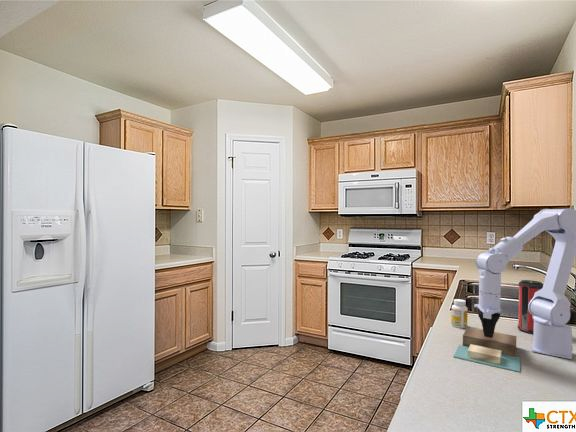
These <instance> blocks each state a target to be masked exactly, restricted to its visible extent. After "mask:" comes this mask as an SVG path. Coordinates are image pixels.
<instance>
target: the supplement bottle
mask: <svg viewBox="0 0 576 432" xmlns="http://www.w3.org/2000/svg"><path fill="white" fill-rule="evenodd" d="M466 302H467V301H466V300H464V299H460V298H455V299H453V304H452V306H451V314H450V315H451V320H450V321H451V322H450V323H451V326H453V327H454V328H456V329H457V328H458V329H465V328H467V327H468V307H467V306H466Z"/></svg>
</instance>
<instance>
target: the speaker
mask: <svg viewBox="0 0 576 432" xmlns="http://www.w3.org/2000/svg"><path fill="white" fill-rule="evenodd" d="M543 285H544V283H542V282H541V281H538V280H537V281H536V280H530V279H523V280H522V279H521V280H520V281H519V282H518V320H517V321H518V322H517V329H518V330H519V331H520V332H523V333H527V334H531V335H534V319H533V318H532V314H530V312H529V310H528V304H529V302H530V301H531V300H532V298H533V297H534V294H535V292H537V291H539V290H541V289H542V288H543Z"/></svg>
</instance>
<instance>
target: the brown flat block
mask: <svg viewBox="0 0 576 432" xmlns="http://www.w3.org/2000/svg"><path fill="white" fill-rule="evenodd" d="M517 339H518V338H517V335H511V334H508V333H502V332H496V331H494V334H493V337H492V338H489V337H485V336H484V332H483V329H479V328H473V327H468V326H467V327H466V329H465V331H464V332H463V334H462V346H467V347H469V346H470V344H472V345H477V346H482V347H486V348H491V349H496V350H501V351H502V352H501V354H505V355H510V356H514V357H517Z"/></svg>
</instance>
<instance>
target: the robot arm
mask: <svg viewBox="0 0 576 432" xmlns="http://www.w3.org/2000/svg"><path fill="white" fill-rule="evenodd" d="M544 231H545V232H546V233H548V234H549V235H550V236H552V237H553V239H554V240H555V243H554V247H553V250H552V253H551V257H550V260H549V263H548V268H547V271H546V275H545V278H544V282H543V288H542V289H541V290H539V291H537V292H535V294H534V297H533V298H532V300H531V301H530V302H529V304H528V310H529V312H530V314H532V318H533V319H534V334H532V335H533V341H532V342H531V352H534V353H539V354H543V355H547V356H548V355H549V356H553V357H559V358H564V359H569V360H572V358H573V357H572V355H573V354H572V353H573V349H574V348H573V329H572V326H571V325H567V323H569V321H570V319H571V305H572V303H571V301H570V300H569V298H567V297H566V295H565V293H566V290H567V286H568V283H569V280H570V276H571V273H572V269H573V265H574V262H575V258H576V209H574V208H571V207H569V208H552V209H551V208H543V209H541V210H540V211H539V212H537V213H536V214H534V215H533V218H532V219H531V220H530V221H529V222H528V223H527V224H526V225H524V227H523V228H521V229H520V230H519V231H518V232H517V233H516V234H515V235H513V236H506V237H502V238H500V240H499V241H500V242H497V244H496V245H494V246H493V247H490V248H488V251H486V252H482V253H480V254H479V255H478V256H477V257H476V258H477V259H476V260H475V261H474V263H475V266H476V268H477V269H478V276H479V277H478V280H479V281H478V303H474V306H473V307H474V308H477V309H479V311H478V312H477V316H478V318H479V319H480V322H481V325H482V330H483V332H484V336H485V337H489V338H492V337H493V334H494V332H495V330H496V325H497V323H498V321H499V320H500V317H501V313H500V312H502V308H501V292H502V289H501V287H502V286H501V285H502V272H505V270H506V268H507V264H508V263H510V261H511V260H512V259H514V258H515V257H516V256H517V255H519V254H520V253H521V252H523V249H524V248H523V245H525V244H526V243H528V242H529V241H530V240H532V239H534V238H535V237H537V236H538V235H539V234H541V233H542V232H544Z"/></svg>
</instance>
